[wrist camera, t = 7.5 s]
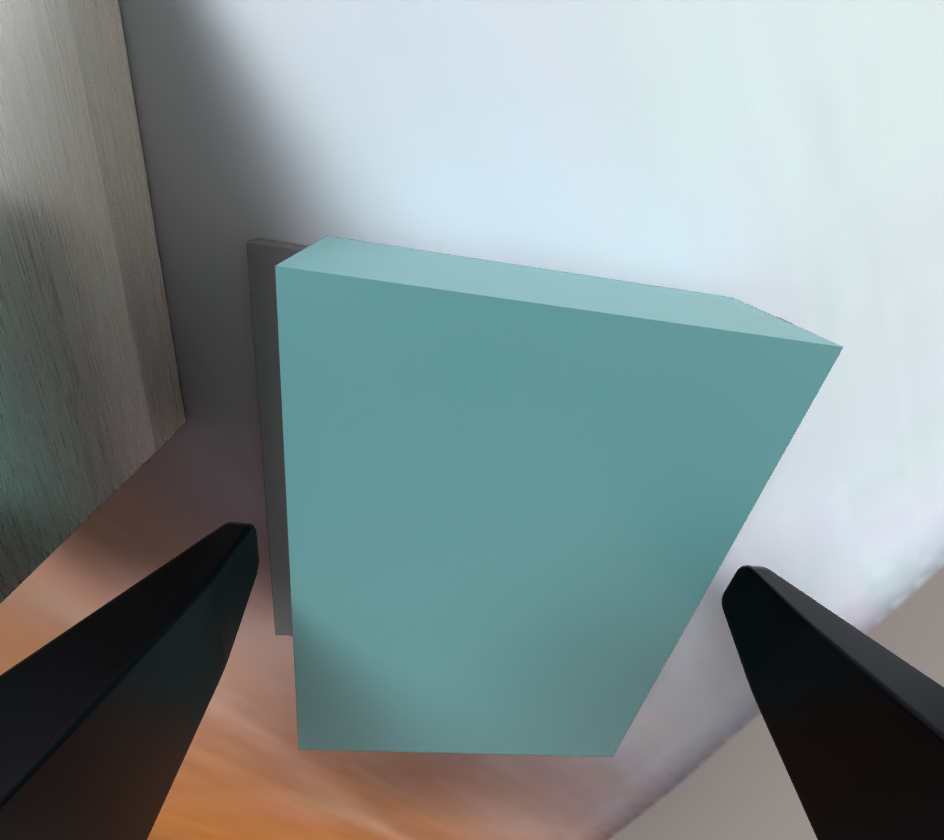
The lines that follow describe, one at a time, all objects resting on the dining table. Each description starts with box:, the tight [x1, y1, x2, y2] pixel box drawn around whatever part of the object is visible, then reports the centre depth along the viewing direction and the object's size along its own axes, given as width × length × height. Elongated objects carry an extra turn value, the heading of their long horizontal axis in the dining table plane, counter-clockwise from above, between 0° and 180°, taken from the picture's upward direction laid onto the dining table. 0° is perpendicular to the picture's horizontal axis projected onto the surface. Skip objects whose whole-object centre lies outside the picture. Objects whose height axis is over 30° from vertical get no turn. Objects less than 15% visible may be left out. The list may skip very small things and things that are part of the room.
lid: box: [275, 236, 843, 757], centre depth 8 cm, size 9×7×2 cm
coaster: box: [247, 239, 792, 636], centre depth 10 cm, size 9×9×1 cm
